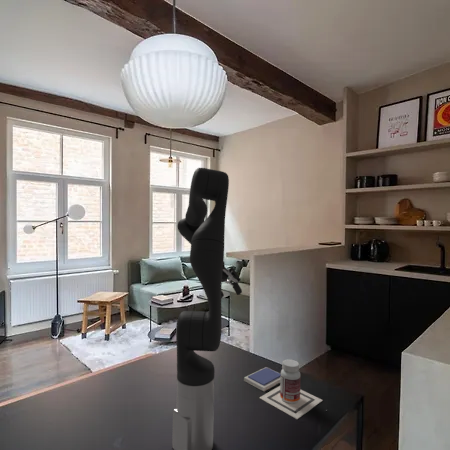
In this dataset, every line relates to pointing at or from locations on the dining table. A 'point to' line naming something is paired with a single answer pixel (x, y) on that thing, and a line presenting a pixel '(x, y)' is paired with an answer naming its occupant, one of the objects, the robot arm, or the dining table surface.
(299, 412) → the white flat square slab
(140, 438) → the dining table surface
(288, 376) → the pill bottle
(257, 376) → the ink pad
